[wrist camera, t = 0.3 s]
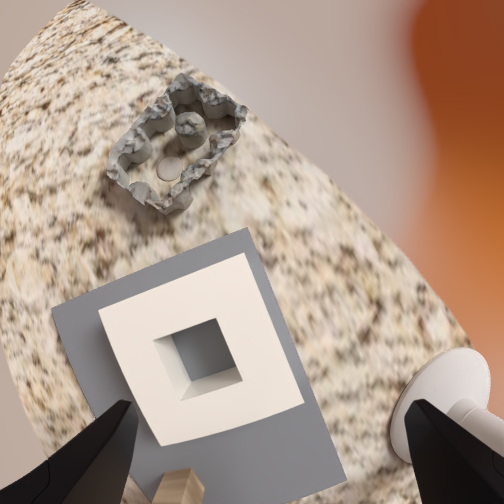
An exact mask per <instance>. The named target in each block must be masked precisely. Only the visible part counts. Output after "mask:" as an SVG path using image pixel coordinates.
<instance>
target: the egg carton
mask: <svg viewBox="0 0 504 504" xmlns="http://www.w3.org/2000/svg"><path fill="white" fill-rule="evenodd" d="M196 100H199V101H201V102H202V107H203V110H204V113H205V115H206V116H207V117H208V118H210V119H221V118H223V117H225V116H226V115H227V114H229V115H231V116H233V117H235V125H236V129H235V130H233V129H231V130H228V131H221V132H219V133H217V134H215V135H211V136H210V138H209V140H210V150H211V154H212V157H213V158H212V159H198V160H197V161H196V163H195V164H192V165H190V166H188V168H187V169H186V170H185V171H183V163H182V161H181V159H179V158H178V157H176V156H168V157H165V158H164V159H163V160H161V161H160V162H159V164H158V166H157V174H158V176H159V178H160V179H162V180H164V181H173V180H175V179H177V178H178V177H179V176H180V175H181V178H180V180H181V181H180V182H178V183H177V184H176V185H175V186H174V187H173V188H172V189H171V190H170V192H169V193H168V195H167V196H166V197H165V198H164V199H163V200H161V201H160V202H159V196H158V194H157V193H156V192H155V190H154V189H152V188H151V186H150V185H149V184H147V183H145V182H135V183H132V184H130V185H129V183H130V179H129V176H128V174H127V173H126V170H127V168H128V167H129V165H130V164H131V163H132V162H133V163H136V164H138V163H142V162H145V161H146V160H147V159H149V158H150V156H151V154H152V151H153V147H152V144H151V142H150V141H149V139H150V137H151V136H152V135H153V134H154V132H156V131H157V132H165V131H168V130H170V129H171V128H172V127H173V126H174V125H175V130H176V132H177V135H178V137H179V139H180V141H181V143H182V145H183V146H185V147H187V148H190V149H195V148H198V147H200V146H202V145H203V144H204V143H205V142H206V139H207V130H206V126H207V125H205V122H204V120H203V118H202V117H201V116H200V115H199V114H197V113H196V112H184V113H181V114H179V115H178V116H177V117H176V114H175V112H174V108H175V107H176V106H177V105H178V104H179V103H180V104H190V103H192V102H194V101H196ZM248 111H249V109H248V108H247V107H246V106H244V105H243V106H240V105H239V104H237V103H235V102H234V101H233V100H232V99H231V98H230V97H229V96H227V95H223V94H221V93H220V92H218V91H217V90H216V89H213V88H211V87H209V86H208V85H206V84H205V83H203V82H202V83H199V82H197V81H196V80H194V79H193V78H191V77H190V76H188V75H185V74H183V73H180V74H179V75H178V76H177V77H176V79H175V80H174V81H173V82H172V83H171V85H170V86H169V87H168V88H167V89H166V91H165V93H164V94H163V95H162V96H161V97H158V98H157V100H156V102H155V103H154V104H152V105H149V106H147V108H146V109H145V111H144V112H143V114H142V115H141V116H140V117H139V118H138V119H137V121H136V122H135V123H134V124H133V125H132V127H131V128H130V130H129V131H128V132H127V133H126V134H125V135H124V136H123V137H122V138H121V139H120V140H119V141H118V142H117V143H116V144H115V145H114V146H113V147H112V149H111V151H110V152H109V156H108V164H107V175H108V177H109V178H111V179H113V180H115V181H116V182H117V183H118V184H119V185H120V186H121V187H123V188H124V189H127V190H128V191H130V192H131V193H132V195H133V197H134V198H135V199H136V200H138V201H139V202H140V203H142V204H143V205H144V206H146V203H148V204H150V205H151V206H153V207H155V208H156V209H157V210H159V211H160V212H161V213H163V214H164V215H168V214H169V213H170V212H172V211H174V210H176V209H183V210H186V209H187V208H188V207H189V206H190V205H191V203H192V201H193V197H192V196H191V195H190V193H189V186H190V183H191V181H192V180H193V179H198V178H200V177H201V175H203V174H204V175H210V176H211V175H212V173H213V171H214V169H215V167H216V165H217V159H218V158H219V157H220V156H221V155H222V154H223V153H224V151H225V150H226V148H227V147H228V146H229V144H230V143H233V144H234V143H235V142H236V141H237V140H238V139H239V137H240V132H239V129H240V127H241V126H242V125H243V124H244V123H245V121H246V120H245V116H246V114H247V112H248Z"/></svg>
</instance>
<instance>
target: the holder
mask: <svg viewBox="0 0 504 504" xmlns="http://www.w3.org/2000/svg"><path fill="white" fill-rule="evenodd" d="M98 312H99V314H100V317H101V320H102V323H103V326H104V328H105V331H106V333H107V336H108V339H109V341H110V344H111V346H112V349H113V351H114V353H115V356H116V358H117V361H118V363H119V365H120V367H121V370H122V372H123V374H124V376H125V379H126V381H127V383H128V385H129V387H130V389H131V391H132V393H133V395H134V397H135V399H136V401H137V403H138V405H139V407H140V409H141V411H142V413H143V415H144V417H145V419H146V421H147V422H148V424H149V426H150V428H151V430H152V431H153V433H154V435H155V437H156V438H157V440H158V442H159V444H160V445H161V446H165V445H170V444H175V443H180V442H184V441H188V440H192V439H196V438H200V437H204V436H208V435H212V434H215V433H219V432H223V431H226V430H229V429H233V428H236V427H239V426H242V425H245V424H249V423H252V422H255V421H258V420H260V419H263V418H266V417H269V416H272V415H274V414H277V413H280V412H283V411H285V410H288V409H290V408H293V407H295V406H298V405H300V404H303V403H305V402H304V400H303V398H302V395H301V393H300V390H299V388H298V385H297V383H296V380H295V378H294V375H293V373H292V371H291V368H290V366H289V363H288V361H287V358H286V356H285V353H284V351H283V348H282V346H281V343H280V341H279V338H278V336H277V333H276V331H275V329H274V326H273V324H272V321H271V319H270V316H269V314H268V311H267V309H266V306H265V304H264V301H263V299H262V296H261V294H260V291H259V289H258V286H257V284H256V281H255V279H254V276H253V274H252V271H251V269H250V266H249V264H248V261H247V258H246V256H245V253H242V254H239V255H236V256H234V257H231V258H229V259H226V260H224V261H221V262H219V263H216V264H214V265H211V266H209V267H206V268H204V269H201V270H198V271H196V272H193V273H191V274H188V275H186V276H183V277H181V278H178V279H176V280H173V281H171V282H168V283H166V284H163V285H161V286H158V287H155V288H153V289H150V290H148V291H145V292H143V293H140V294H138V295H135V296H133V297H130V298H128V299H125V300H123V301H120V302H118V303H115V304H113V305H110V306H108V307H105V308H103V309H100V310H98ZM213 318H216V319H217V321H218V324H219V326H220V328H221V331H222V333H223V336H224V338H225V340H226V343H227V345H228V347H229V350H230V352H231V355H232V357H233V359H234V361H235V364H236V367H233V368H230V369H227V370H224V371H221V372H218V373H215V374H213V375H210V376H206V377H203V378H200V379H197V380H194V381H191V380H190V377H189V375H188V373H187V371H186V369H185V367H184V364H183V362H182V360H181V358H180V355H179V353H178V351H177V348H176V346H175V344H174V341H173V339H172V336H171V334H172V333H175V332H178V331H180V330H183V329H186V328H189V327H192V326H194V325H197V324H200V323H202V322H205V321H208V320H210V319H213Z"/></svg>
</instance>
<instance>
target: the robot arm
mask: <svg viewBox="0 0 504 504" xmlns="http://www.w3.org/2000/svg"><path fill="white" fill-rule="evenodd" d="M138 424H139V416H138V413H137V411H136V408H135V405H134V403H133V401H131V400H126V399H120V400H118V401H117V402H116V403H115V404H113V405H112V406H111V407H110V408H109V409H107V410H106V411H105V412H104V413H103V414H102V415H100V416H99V417H98V418H97V419H96V420H94V421H93V422H92V423H91V424H90V425H88V426H87V427H86V428H85V429H84V430H82V431H81V432H80V433H79V434H78V435H76V436H75V437H74V438H73V439H71V440H70V441H69V442H68V443H67V444H65V445H64V446H63V447H62V448H60V449H59V450H58V451H57V452H55V453H54V454H53V455H52V456H51V457H49V458H48V460H45V461H44V462H43V463H42V464H40V465H39V466H38V467H36V468H35V469H34V470H32V471H31V472H30V473H28V474H27V475H25V476H23V477H22V478H20V479H19V480H17V481H15V482H14V483H12V484H10V485H8V486H7V487H5V488H3V489H1V490H0V504H120V502H121V498H122V495H123V491H124V488H125V484H126V481H127V477H128V474H129V470H130V467H131V463H132V459H133V453H134V447H135V441H136V435H137V429H138ZM404 424H405V429H406V435H407V440H408V446H409V452H410V457H411V461H412V465H413V469H414V472H415V476H416V480H417V484H418V488H419V492H420V496H421V501H422V504H504V457H503V456H501V455H500V454H498V453H497V452H496V451H494V450H492V449H491V448H490V447H489V446H487V445H486V444H485V443H483V442H482V441H481V440H479V439H478V438H477V437H475V436H474V435H473V434H471V433H470V432H469V431H467V430H466V429H465V428H463V427H462V426H460V425H459V424H458V423H456V422H455V421H454V420H452V419H451V418H450V417H448V416H447V415H446V414H444V413H443V412H442V411H440V410H439V409H438V408H436V407H435V406H434V405H432V404H431V403H430V402H429V401H427V400H426V399H417V400H414V401H413V402H412V403H411V405H410V407H409V408H408V410H407V412H406V414H405V416H404Z"/></svg>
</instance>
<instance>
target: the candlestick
mask: <svg viewBox="0 0 504 504" xmlns="http://www.w3.org/2000/svg"><path fill="white" fill-rule="evenodd" d="M489 393H490V372H489V368H488V365H487V363H486V361H485V359H484V358H483V356H481V354H479V353H478V352H477V351H475V350H472V349H469V348H464V347H458V348H452V349H449V350H446V351H444V352H442V353H440V354H438V355H437V356H435V357H434V358H433V359H431V360H430V361H429V362H427V363H426V364H425V365H424V366H423V367H422V368H421V369H420V370H419V371H418V372H417V373H416V375H415V376H414V377H413V378H412V379H411V381H410V382H409V384H408V385H407V387H406V388H405V390H404V391H403V393H402V395H401V397H400V399H399V401H398V403H397V405H396V408H395V410H394V413H393V417H392V421H391V427H390V439H391V444H392V447H393V449H394V451H395V452H396V454H397V455H398V456H399V457H400V458H401V459H402V460H404V461H406V462H408V463H411V464H412V461H411V457H410V452H409V446H408V440H407V435H406V429H405V424H404V416H405V414H406V412H407V410H408V408H409V407H410V405H411V403H412V402H413V401H414V400H417V399H426V400H427V401H429V402H430V403H431V404H432V405H434V406H435V407H436V408H438V409H439V410H440V411H442V412H443V413H444V414H446V415H447V416H448V417H450V418H451V419H452V420H454V421H455V422H456V423H458V424H459V425H460V426H462V427H463V428H465V429H466V430H467V431H469V432H470V433H471V434H473V435H474V436H475V437H477V438H478V439H479V440H481V441H482V442H483V443H485V444H486V445H487V446H489V447H490V448H491V449H492V450H494V451H496V452H497V453H498V454H500V455H501V456H503V457H504V421H503V420H502V419H500V418H498V417H497V416H495V415H493V414H492V413H490V412H488V411H487V410H485V409H486V406H487V402H488V398H489Z"/></svg>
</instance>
